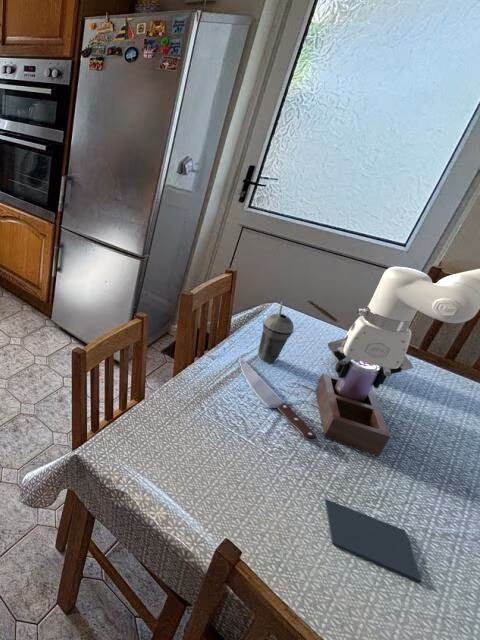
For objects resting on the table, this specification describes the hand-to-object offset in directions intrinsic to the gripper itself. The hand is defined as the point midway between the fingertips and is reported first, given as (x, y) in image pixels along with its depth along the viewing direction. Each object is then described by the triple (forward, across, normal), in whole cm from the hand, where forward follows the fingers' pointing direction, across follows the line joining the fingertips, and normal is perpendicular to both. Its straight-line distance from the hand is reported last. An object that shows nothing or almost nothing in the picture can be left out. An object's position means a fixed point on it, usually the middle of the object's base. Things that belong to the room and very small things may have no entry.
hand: (356, 379), depth 102 cm
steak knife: (+10, -15, -4) cm, 19 cm away
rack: (+10, 0, -4) cm, 11 cm away
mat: (+10, -1, -38) cm, 39 cm away
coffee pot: (+10, +1, +26) cm, 28 cm away
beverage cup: (+10, -16, +14) cm, 24 cm away
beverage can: (+10, 0, 0) cm, 10 cm away
